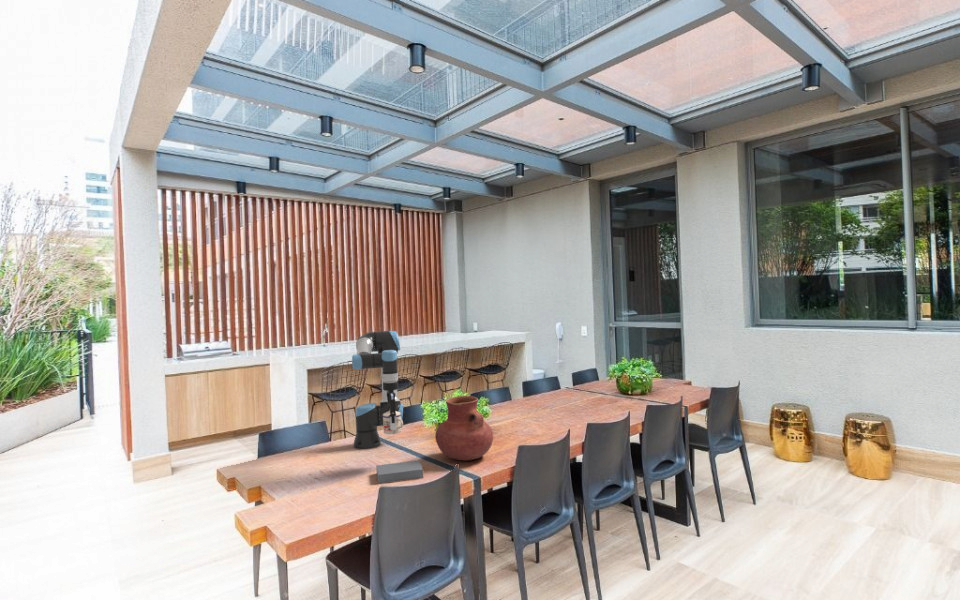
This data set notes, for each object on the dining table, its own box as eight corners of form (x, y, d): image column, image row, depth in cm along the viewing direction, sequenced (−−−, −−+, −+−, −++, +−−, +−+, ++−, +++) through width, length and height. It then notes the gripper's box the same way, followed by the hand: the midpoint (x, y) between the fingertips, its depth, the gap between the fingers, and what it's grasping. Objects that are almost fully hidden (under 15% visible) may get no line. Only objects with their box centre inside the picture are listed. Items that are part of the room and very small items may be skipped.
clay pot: (425, 458, 257) (422, 399, 257) (469, 445, 276) (466, 391, 276) (461, 471, 234) (458, 407, 235) (506, 456, 254) (503, 397, 254)
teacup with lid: (379, 433, 247) (378, 409, 247) (393, 428, 254) (392, 405, 254) (395, 436, 240) (394, 412, 240) (409, 432, 247) (408, 408, 247)
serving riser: (376, 473, 236) (376, 465, 236) (419, 468, 241) (418, 460, 241) (378, 484, 222) (378, 475, 222) (423, 478, 227) (423, 469, 227)
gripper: (381, 379, 257) (382, 422, 257) (384, 385, 236) (386, 433, 236) (395, 377, 259) (397, 421, 259) (400, 384, 238) (402, 431, 238)
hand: (392, 427), depth 248 cm, fingers closed on teacup with lid, 9 cm apart
